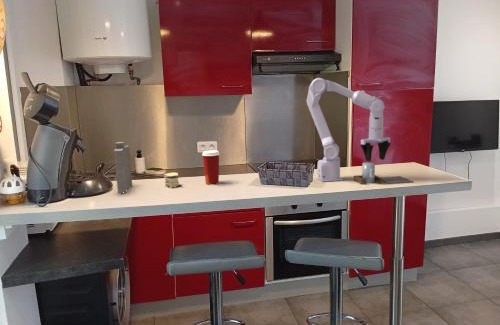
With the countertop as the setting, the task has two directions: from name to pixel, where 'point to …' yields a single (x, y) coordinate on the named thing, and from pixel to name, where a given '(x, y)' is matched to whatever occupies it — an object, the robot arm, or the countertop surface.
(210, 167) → the paper cup
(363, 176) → the jug
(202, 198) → the countertop surface
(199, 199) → the countertop surface
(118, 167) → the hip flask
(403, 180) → the rubber mat
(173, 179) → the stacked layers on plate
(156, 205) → the countertop surface
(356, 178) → the jug holder
